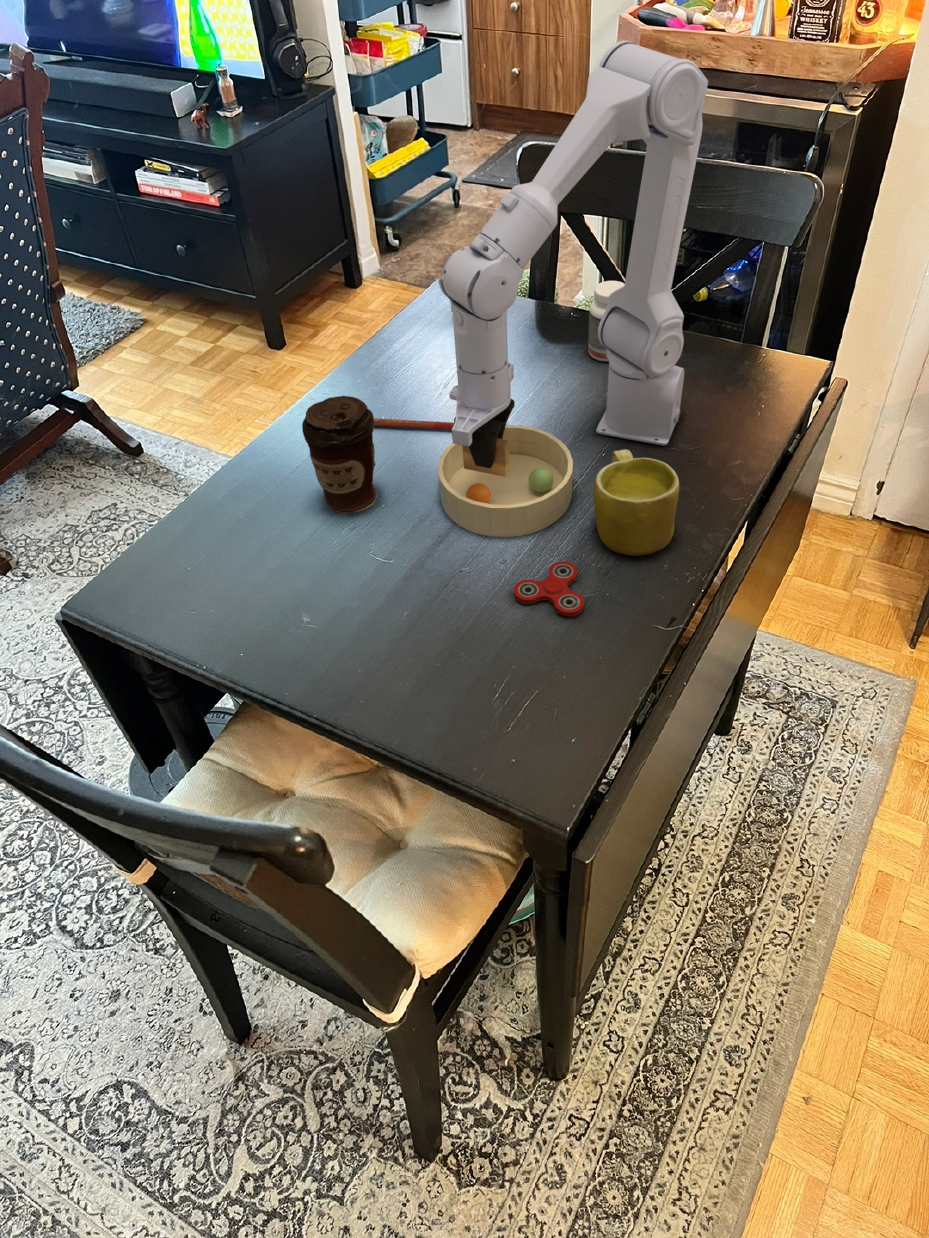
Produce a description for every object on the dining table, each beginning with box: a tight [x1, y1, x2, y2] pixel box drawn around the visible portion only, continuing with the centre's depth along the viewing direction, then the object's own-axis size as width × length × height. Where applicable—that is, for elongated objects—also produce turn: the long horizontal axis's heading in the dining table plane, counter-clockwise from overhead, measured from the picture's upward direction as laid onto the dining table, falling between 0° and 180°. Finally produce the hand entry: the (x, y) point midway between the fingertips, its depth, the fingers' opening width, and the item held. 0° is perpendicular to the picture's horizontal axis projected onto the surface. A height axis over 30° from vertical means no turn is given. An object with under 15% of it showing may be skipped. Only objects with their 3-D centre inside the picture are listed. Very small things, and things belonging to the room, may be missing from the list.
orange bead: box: [466, 483, 491, 504], centre depth 110 cm, size 3×3×3 cm
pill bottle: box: [587, 280, 625, 363], centre depth 130 cm, size 6×6×10 cm
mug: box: [592, 448, 680, 557], centre depth 104 cm, size 12×10×10 cm
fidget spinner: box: [513, 560, 585, 617], centre depth 100 cm, size 8×7×1 cm
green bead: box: [529, 467, 553, 492], centre depth 111 cm, size 3×3×3 cm
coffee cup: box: [301, 395, 378, 514], centre depth 109 cm, size 9×8×13 cm
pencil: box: [373, 417, 454, 431], centre depth 123 cm, size 19×1×1 cm, turn 80°
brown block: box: [462, 438, 510, 477], centre depth 110 cm, size 1×6×4 cm, turn 68°
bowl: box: [437, 424, 574, 538], centre depth 111 cm, size 16×16×4 cm
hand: (487, 460), depth 110 cm, fingers closed on brown block, 1 cm apart
